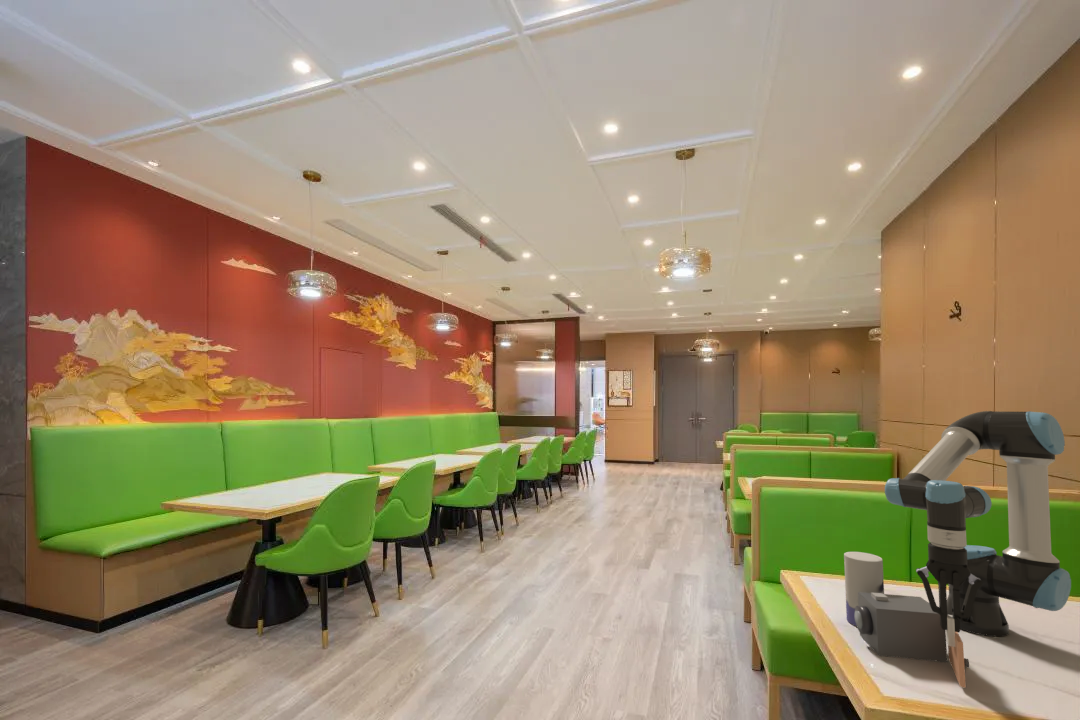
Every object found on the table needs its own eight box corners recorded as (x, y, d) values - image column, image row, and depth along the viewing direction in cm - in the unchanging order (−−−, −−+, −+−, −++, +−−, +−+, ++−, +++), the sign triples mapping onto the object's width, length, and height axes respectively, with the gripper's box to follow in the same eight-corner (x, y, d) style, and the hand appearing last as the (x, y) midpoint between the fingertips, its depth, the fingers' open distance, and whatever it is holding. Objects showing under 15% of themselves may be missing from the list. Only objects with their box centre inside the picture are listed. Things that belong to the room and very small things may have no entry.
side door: (948, 658, 130) (946, 618, 131) (958, 660, 129) (956, 620, 130) (960, 686, 118) (957, 641, 118) (971, 689, 117) (968, 644, 117)
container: (892, 632, 148) (888, 562, 149) (854, 629, 150) (851, 559, 151) (876, 618, 157) (873, 552, 159) (841, 615, 159) (838, 550, 161)
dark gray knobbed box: (922, 640, 142) (920, 593, 143) (947, 662, 131) (944, 610, 132) (850, 634, 146) (848, 587, 147) (867, 654, 134) (865, 603, 136)
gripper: (916, 544, 125) (920, 643, 123) (984, 553, 118) (989, 658, 116) (912, 537, 131) (916, 631, 129) (977, 545, 125) (981, 644, 123)
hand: (950, 644), depth 123 cm, fingers closed
